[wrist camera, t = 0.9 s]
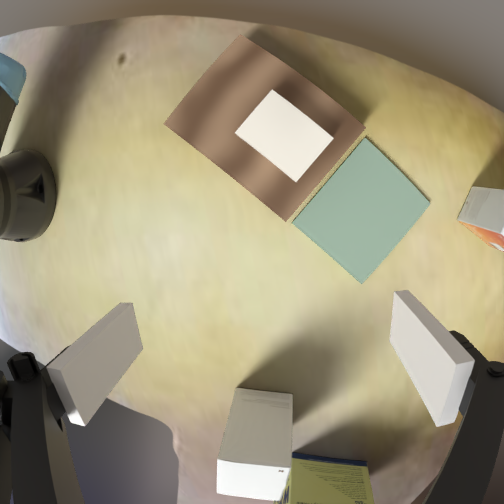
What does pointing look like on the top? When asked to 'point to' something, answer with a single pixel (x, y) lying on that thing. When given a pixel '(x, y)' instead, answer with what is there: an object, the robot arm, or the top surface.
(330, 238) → the mat
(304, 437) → the top surface
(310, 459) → the protein box
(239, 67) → the plate
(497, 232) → the small box
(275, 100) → the tile
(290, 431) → the supplement box
